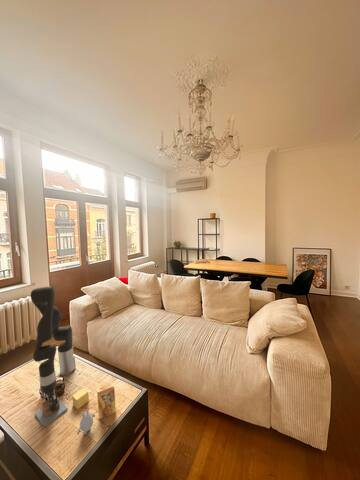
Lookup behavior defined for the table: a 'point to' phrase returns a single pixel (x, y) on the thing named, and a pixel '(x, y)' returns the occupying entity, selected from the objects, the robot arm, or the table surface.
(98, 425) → the table surface
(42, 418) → the slate baseplate
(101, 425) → the table surface
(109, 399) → the candy box
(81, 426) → the toy figure
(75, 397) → the mustard brick
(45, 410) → the walnut brick
